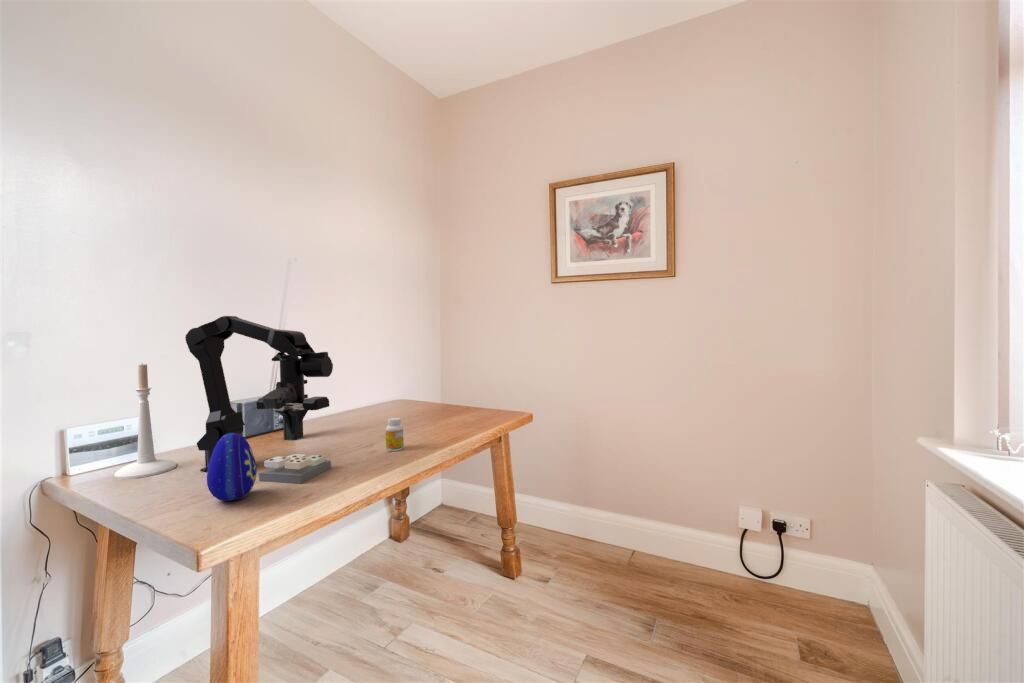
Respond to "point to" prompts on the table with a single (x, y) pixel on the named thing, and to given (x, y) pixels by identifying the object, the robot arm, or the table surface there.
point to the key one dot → (297, 456)
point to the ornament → (231, 468)
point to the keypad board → (293, 473)
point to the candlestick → (144, 438)
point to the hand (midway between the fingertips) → (294, 434)
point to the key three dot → (316, 460)
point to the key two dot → (276, 462)
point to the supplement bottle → (394, 435)
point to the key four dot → (297, 463)
